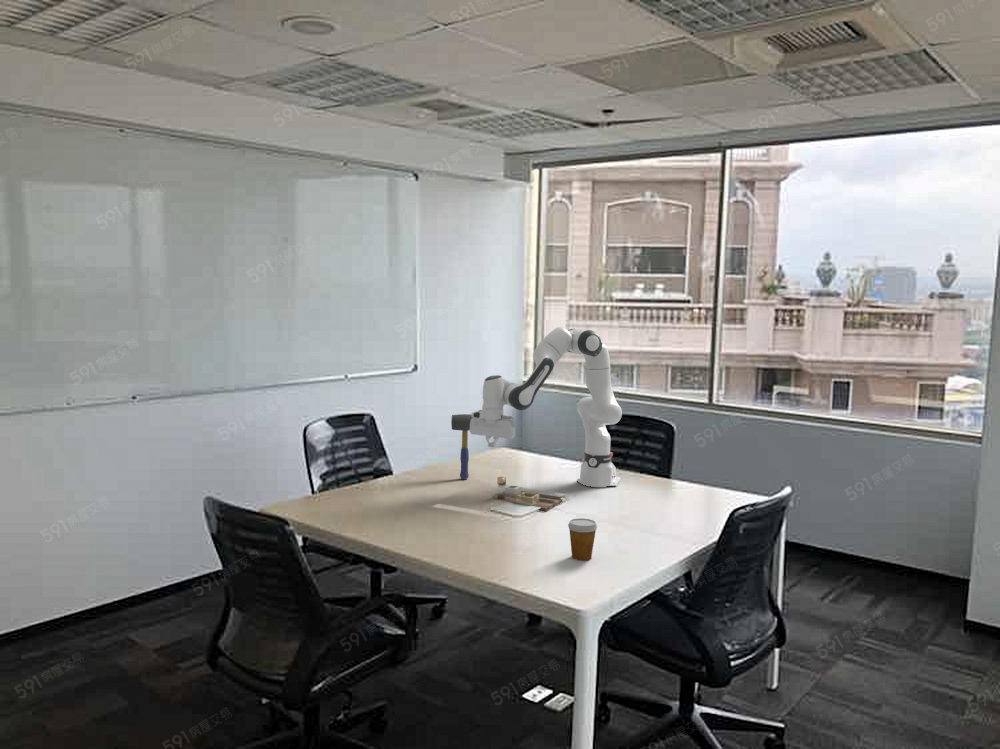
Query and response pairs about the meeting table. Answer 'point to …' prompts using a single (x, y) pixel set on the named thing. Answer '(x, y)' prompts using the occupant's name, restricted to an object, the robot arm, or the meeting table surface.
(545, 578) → the meeting table surface
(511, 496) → the board
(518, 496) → the socket
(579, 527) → the disposable coffee cup
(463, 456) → the rubber mallet
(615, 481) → the robot arm
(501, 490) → the grey and tan cylinder
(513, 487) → the block
